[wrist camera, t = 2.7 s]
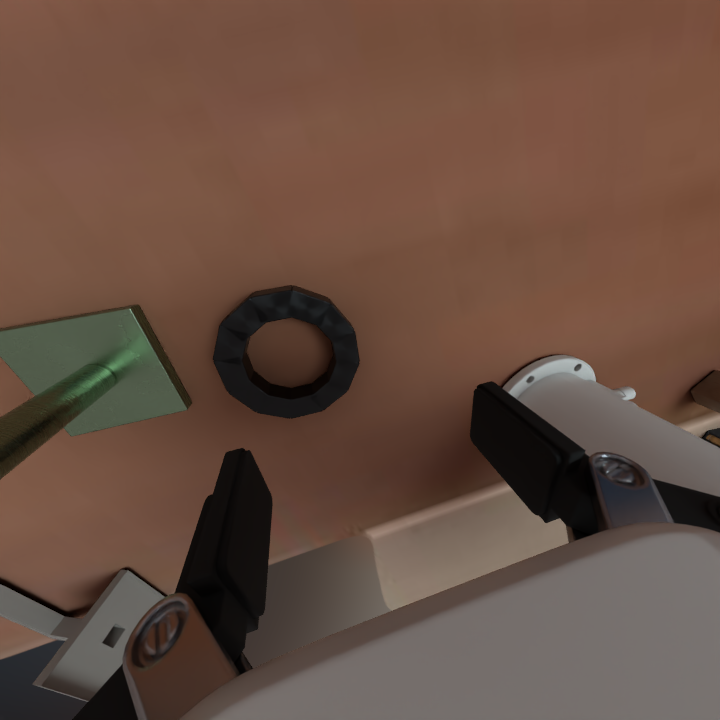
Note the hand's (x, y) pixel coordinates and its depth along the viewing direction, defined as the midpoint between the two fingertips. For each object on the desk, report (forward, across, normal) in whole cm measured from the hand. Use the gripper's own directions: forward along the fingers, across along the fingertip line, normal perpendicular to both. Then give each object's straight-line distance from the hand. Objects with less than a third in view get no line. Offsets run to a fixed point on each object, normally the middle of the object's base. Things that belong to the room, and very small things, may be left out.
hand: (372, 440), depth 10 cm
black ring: (+12, +3, 0) cm, 12 cm away
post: (+12, +16, -1) cm, 20 cm away
